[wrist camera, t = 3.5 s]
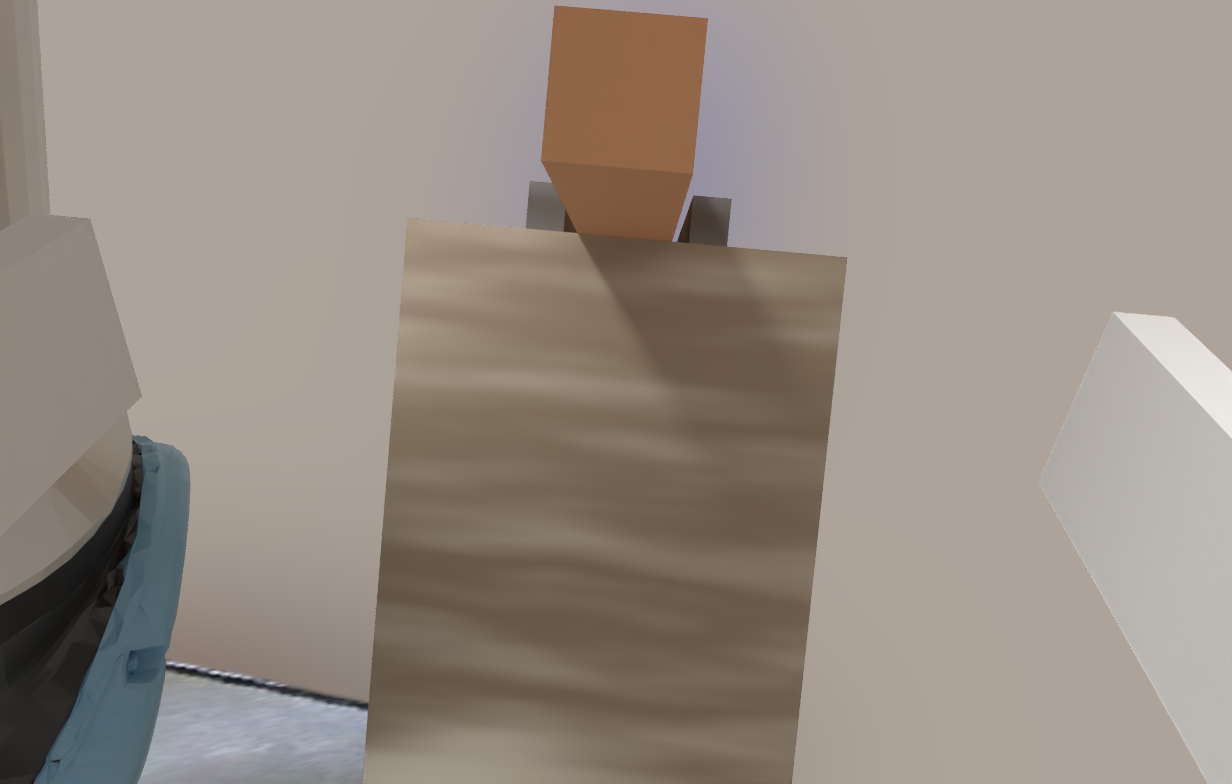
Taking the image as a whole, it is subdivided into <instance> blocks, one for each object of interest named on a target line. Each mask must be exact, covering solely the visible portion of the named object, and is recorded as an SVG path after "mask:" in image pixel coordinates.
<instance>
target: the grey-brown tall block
mask: <svg viewBox="0 0 1232 784" xmlns="http://www.w3.org/2000/svg"><path fill="white" fill-rule="evenodd" d="M730 209H731V199H727V198H715V197H704V196H693V199H692V201H691V204H690V207H689V210H688V213H687V215H686V219H685V221H684V224H683V227H682V229H681V232H680V235H679V238H678V241H677V242H669V241H658V240H647V239H636V238H625V237H614V236H603V235H592V234H580V233H577V231H576V229H575V227H574V225H573V223H572V221H571V219H570V217H569V215H568V213H567V211H566V209H565V207H564V205H563V203H562V201H561V199H560V197H559V195H558V193H557V191H556V189H555V187H554V185H553V183H546V182H534V181H530V186H529V198H528V209H527V221H526V229H525V228H514V227H502V226H492V225H480V224H469V223H458V222H447V221H436V220H425V219H413V218H407V230H406V242H405V254H404V267H403V280H402V292H401V306H400V318H399V330H398V343H397V357H396V368H395V380H394V393H393V405H392V418H391V431H390V445H389V456H388V469H387V481H386V494H385V506H384V519H383V531H382V544H381V557H380V569H379V583H378V595H377V607H376V619H375V632H374V644H373V645H374V646H373V657H372V670H371V683H370V695H369V707H368V720H367V732H366V745H365V757H364V770H363V783H362V784H792V774H793V765H794V754H795V745H796V736H797V727H798V717H799V707H800V699H801V689H802V680H803V670H804V661H805V651H806V642H807V632H808V623H809V613H810V604H811V594H812V585H813V576H814V566H815V557H816V547H817V538H818V528H819V519H820V510H821V500H822V491H823V480H824V471H825V462H826V453H827V443H828V434H829V424H830V415H831V406H832V396H833V387H834V377H835V367H836V358H837V349H838V339H839V330H840V320H841V311H842V302H843V292H844V282H845V273H846V264H847V257H835V256H825V255H814V254H803V253H792V252H780V251H769V250H758V249H746V248H736V247H727V240H728V229H729V219H730Z"/></svg>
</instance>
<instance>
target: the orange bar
mask: <svg viewBox="0 0 1232 784" xmlns="http://www.w3.org/2000/svg"><path fill="white" fill-rule="evenodd" d="M707 22H708V19H707V18H696V17H684V16H673V15H661V14H649V13H637V12H625V11H613V10H601V9H589V8H577V7H565V6H555V7H554V19H553V31H552V41H551V53H550V64H549V76H548V87H547V100H546V110H545V122H544V133H543V144H542V145H543V146H542V156H541V161H542V163H543V165H544V167H545V169H546V171H547V173H548V175H549V177H550V179H551V181H552V183H553V185H554V187H555V189H556V191H557V193H558V195H559V197H560V199H561V201H562V203H563V205H564V207H565V209H566V211H567V213H568V215H569V217H570V219H571V221H572V223H573V225H574V227H575V229H576V231H577V233H580V234H592V235H603V236H614V237H625V238H636V239H647V240H658V241H669V242H672V239H673V236H674V233H675V230H676V227H677V223H678V220H679V217H680V214H681V211H682V207H683V204H684V201H685V198H686V194H687V191H688V188H689V184H690V182H691V178H692V175H693V168H694V157H695V147H696V136H697V126H698V116H699V105H700V94H701V84H702V74H703V64H704V53H705V43H706V32H707Z"/></svg>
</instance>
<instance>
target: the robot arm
mask: <svg viewBox="0 0 1232 784" xmlns="http://www.w3.org/2000/svg"><path fill="white" fill-rule="evenodd" d="M141 397H142V395H141V392H140V388H139V385H138V382H137V378H136V375H135V372H134V368H133V364H132V361H131V358H130V354H129V351H128V347H127V344H126V340H125V337H124V334H123V330H122V327H121V323H120V320H119V316H118V313H117V310H116V306H115V303H114V299H113V296H112V293H111V289H110V286H109V282H108V279H107V275H106V272H105V268H104V265H103V261H102V258H101V255H100V251H99V248H98V244H97V241H96V237H95V234H94V230H93V227H92V224H91V221H90V219H87V218H77V217H66V216H54V215H50V203H49V186H48V170H47V153H46V137H45V120H44V104H43V89H42V71H41V54H40V39H39V22H38V6H37V0H0V784H137V783H138V780H139V778H140V776H141V773H142V770H143V768H144V764H145V761H146V758H147V755H148V752H149V748H150V744H151V740H152V736H153V732H154V728H155V724H156V720H157V715H158V711H159V706H160V701H161V696H162V690H163V685H164V680H165V669H166V660H165V654H166V652H167V650H168V649H169V646H170V640H171V633H172V630H173V626H174V622H175V619H176V614H177V608H178V602H179V595H180V588H181V581H182V574H183V566H184V558H185V549H186V540H187V531H188V519H189V503H190V502H189V501H190V471H189V464H188V462H187V459H186V458H185V456H184V455H183V454H182V452H181V451H179V450H178V449H176V448H175V447H174V446H172V445H168V444H162V443H157V442H153V441H152V440H150V439H149V438H147V437H146V436H143V437H141V436H138V435H137V436H133V435H132V434H131V429H130V424H129V419H128V415H127V410H128V409H129V408H130V407H131V406H132V405H133V404H134V403H135V402H136V401H138V399H139V398H141ZM1038 483H1039V485H1040V487H1041V489H1042V490H1043V492H1044V494H1045V496H1046V498H1047V499H1048V501H1049V503H1050V504H1051V506H1052V508H1053V510H1054V511H1055V514H1056V515H1057V517H1058V519H1059V520H1060V522H1061V524H1062V526H1063V528H1064V529H1065V531H1066V533H1067V535H1068V536H1069V538H1070V540H1071V542H1072V544H1073V545H1074V547H1075V549H1076V551H1077V552H1078V554H1079V556H1080V558H1081V560H1082V561H1083V563H1084V565H1085V567H1086V569H1087V570H1088V572H1089V574H1090V576H1091V577H1092V579H1093V581H1094V583H1095V585H1096V586H1097V588H1098V590H1099V592H1100V593H1101V595H1102V597H1103V599H1104V600H1105V602H1106V604H1107V606H1108V608H1109V609H1110V611H1111V613H1112V615H1113V616H1114V618H1115V620H1116V622H1117V624H1118V625H1119V627H1120V629H1121V630H1122V632H1123V634H1124V636H1125V638H1126V640H1127V641H1128V643H1129V645H1130V647H1131V648H1132V650H1133V652H1134V654H1135V656H1136V657H1137V659H1138V661H1139V663H1140V664H1141V666H1142V668H1143V670H1144V671H1145V673H1146V675H1147V677H1148V679H1149V680H1150V682H1151V684H1152V686H1153V687H1154V689H1155V691H1156V693H1157V694H1158V696H1159V698H1160V700H1161V702H1162V703H1163V705H1164V707H1165V709H1166V710H1167V712H1168V714H1169V716H1170V717H1171V719H1172V721H1173V723H1174V725H1175V726H1176V728H1177V730H1178V732H1179V733H1180V735H1181V737H1182V739H1183V741H1184V742H1185V744H1186V746H1187V748H1188V749H1189V751H1190V753H1191V755H1192V756H1193V758H1194V760H1195V762H1196V764H1197V765H1198V767H1199V769H1200V771H1201V773H1202V774H1203V776H1204V778H1205V780H1206V781H1207V783H1208V784H1232V371H1231V370H1230V369H1228V368H1227V367H1226V366H1225V365H1224V364H1223V363H1222V362H1221V361H1220V360H1219V359H1218V358H1217V357H1216V356H1215V355H1214V354H1213V353H1211V352H1210V351H1209V350H1208V349H1207V348H1206V347H1205V346H1204V345H1203V344H1202V343H1201V342H1200V341H1199V340H1198V339H1197V338H1196V337H1194V336H1193V335H1192V334H1191V333H1190V332H1189V331H1188V330H1187V329H1186V328H1185V327H1184V326H1183V325H1182V324H1181V323H1180V322H1179V321H1177V320H1176V319H1175V318H1174V317H1164V316H1153V315H1142V314H1131V313H1120V312H1112V315H1111V317H1110V319H1109V321H1108V324H1107V326H1106V329H1105V331H1104V333H1103V335H1102V337H1101V340H1100V342H1099V344H1098V347H1097V349H1096V351H1095V353H1094V356H1093V358H1092V360H1091V362H1090V365H1089V367H1088V369H1087V372H1086V374H1085V376H1084V378H1083V381H1082V383H1081V385H1080V387H1079V390H1078V392H1077V394H1076V397H1075V399H1074V401H1073V403H1072V406H1071V408H1070V410H1069V412H1068V415H1067V417H1066V419H1065V422H1064V424H1063V426H1062V429H1061V431H1060V433H1059V435H1058V438H1057V440H1056V442H1055V445H1054V447H1053V449H1052V451H1051V453H1050V456H1049V458H1048V460H1047V463H1046V465H1045V467H1044V469H1043V472H1042V474H1041V476H1040V479H1039V481H1038Z"/></svg>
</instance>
